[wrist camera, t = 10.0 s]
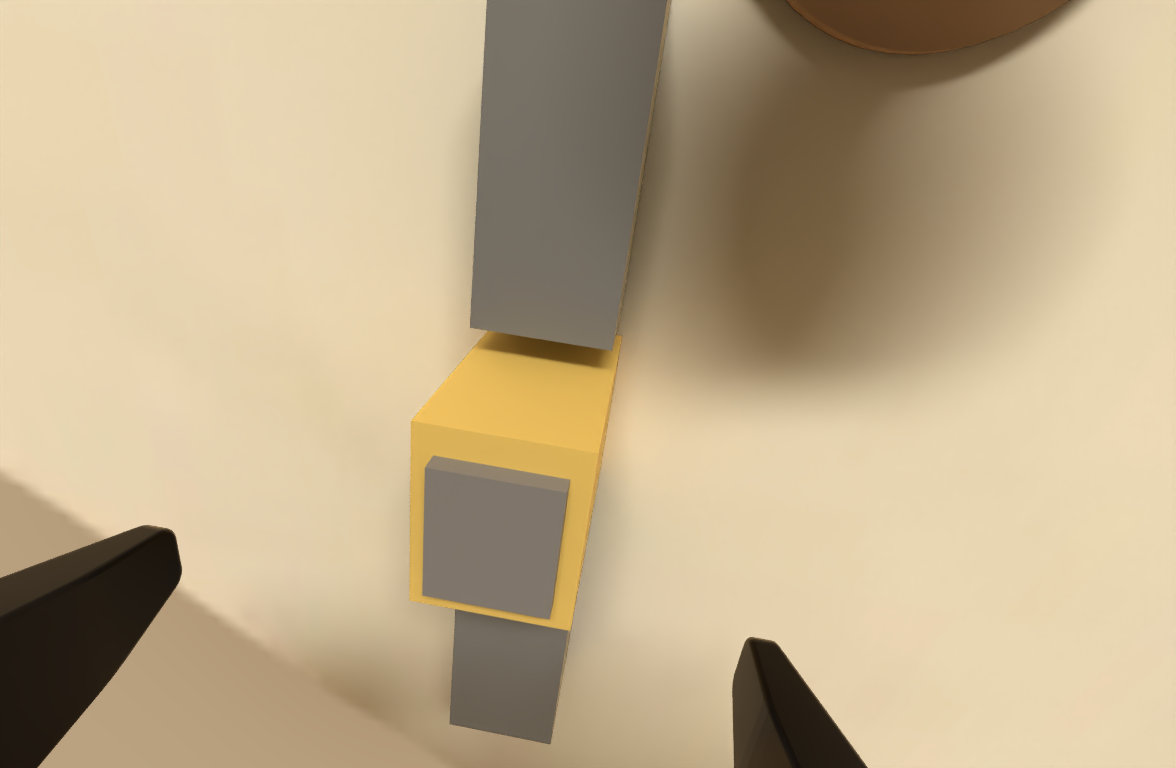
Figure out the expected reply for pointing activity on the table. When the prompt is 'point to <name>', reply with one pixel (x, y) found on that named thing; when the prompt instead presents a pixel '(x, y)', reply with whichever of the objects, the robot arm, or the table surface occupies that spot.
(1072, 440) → the table surface
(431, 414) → the tab block
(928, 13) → the bobbin
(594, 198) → the grey square bar
